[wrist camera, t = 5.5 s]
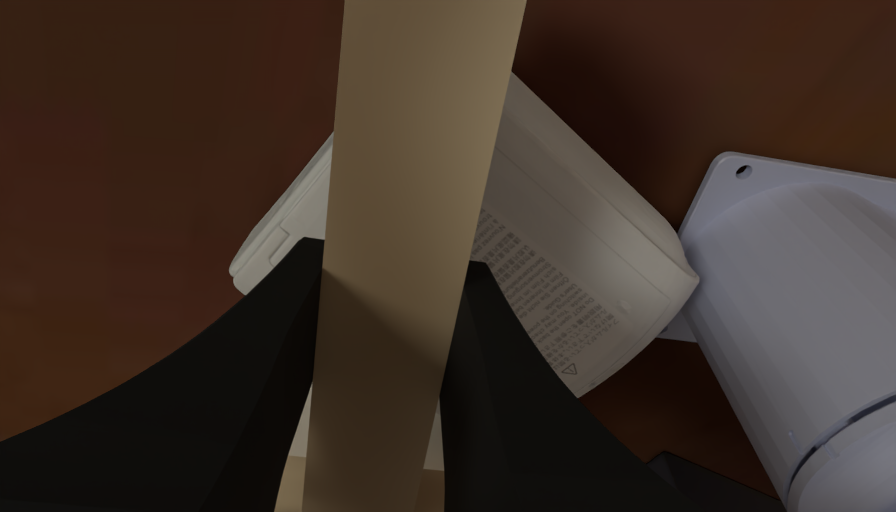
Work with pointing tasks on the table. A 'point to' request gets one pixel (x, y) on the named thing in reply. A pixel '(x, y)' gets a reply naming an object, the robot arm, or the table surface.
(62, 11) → the table surface
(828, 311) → the robot arm
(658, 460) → the grey red panelled box
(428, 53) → the tan wooden slat
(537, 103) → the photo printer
